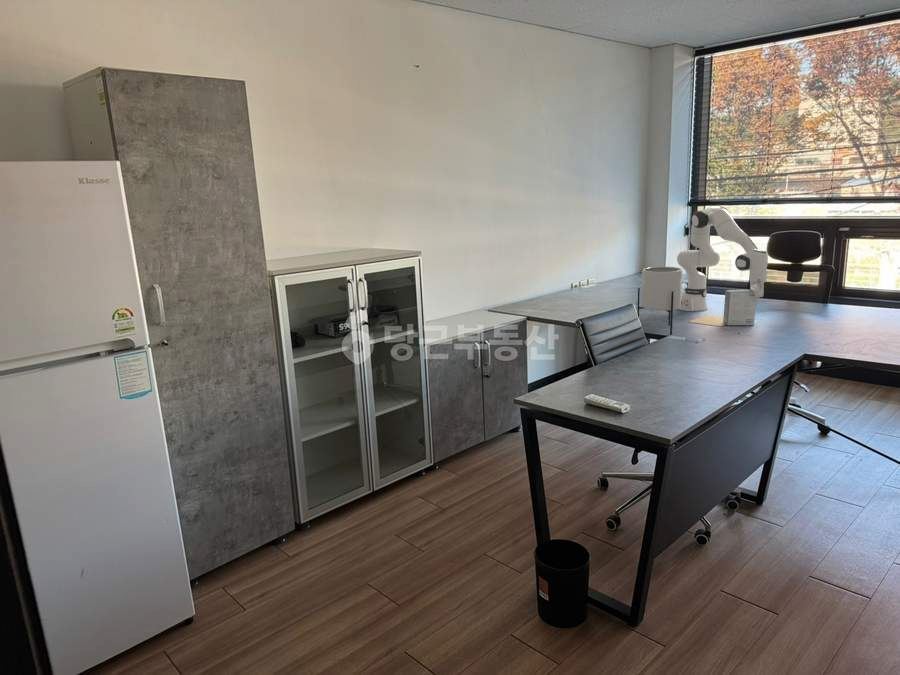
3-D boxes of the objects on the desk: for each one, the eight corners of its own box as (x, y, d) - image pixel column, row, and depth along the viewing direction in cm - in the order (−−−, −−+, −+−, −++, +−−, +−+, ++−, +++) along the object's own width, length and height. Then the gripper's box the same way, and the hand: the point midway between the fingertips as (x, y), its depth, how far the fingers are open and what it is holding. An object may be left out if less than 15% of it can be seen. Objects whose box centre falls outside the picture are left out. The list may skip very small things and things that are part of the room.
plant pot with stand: (680, 334, 344) (683, 272, 336) (636, 333, 352) (637, 272, 343) (679, 325, 366) (681, 266, 357) (637, 324, 374) (639, 266, 365)
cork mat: (688, 322, 372) (688, 321, 371) (706, 315, 385) (706, 315, 385) (720, 326, 357) (720, 326, 357) (738, 319, 370) (738, 319, 370)
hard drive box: (749, 322, 363) (752, 289, 358) (754, 325, 355) (758, 291, 350) (722, 322, 364) (725, 289, 359) (726, 325, 357) (729, 291, 352)
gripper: (767, 280, 335) (765, 305, 339) (760, 275, 354) (759, 298, 358) (754, 280, 337) (753, 305, 341) (748, 275, 356) (747, 298, 360)
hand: (756, 301), depth 349 cm, fingers closed
